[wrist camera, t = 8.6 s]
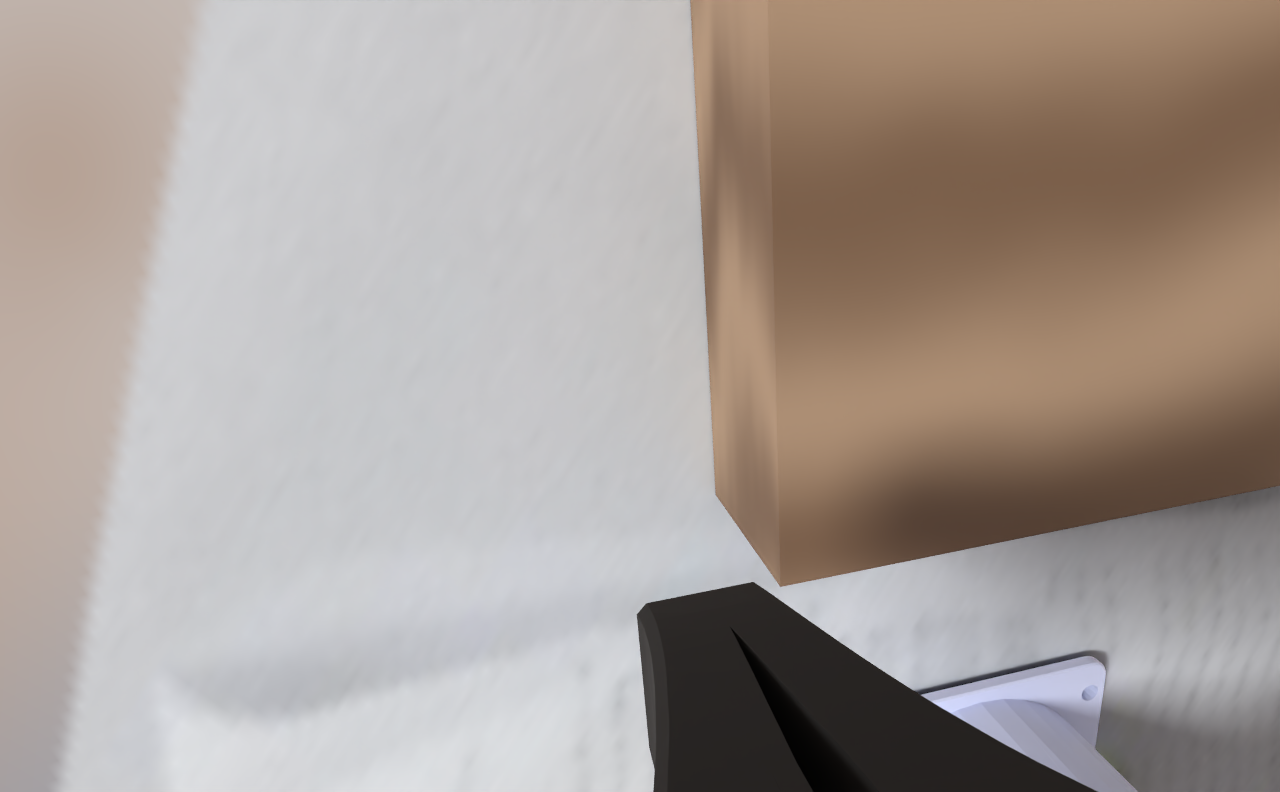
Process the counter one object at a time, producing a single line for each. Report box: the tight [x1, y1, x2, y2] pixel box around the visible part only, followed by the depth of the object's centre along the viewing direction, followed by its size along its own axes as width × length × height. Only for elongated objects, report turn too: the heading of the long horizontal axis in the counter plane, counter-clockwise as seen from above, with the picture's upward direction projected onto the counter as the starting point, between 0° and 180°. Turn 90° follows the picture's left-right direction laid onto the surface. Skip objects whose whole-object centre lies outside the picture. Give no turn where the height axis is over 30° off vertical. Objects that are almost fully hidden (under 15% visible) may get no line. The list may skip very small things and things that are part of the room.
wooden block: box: [690, 0, 1280, 587], centre depth 16 cm, size 14×12×4 cm
